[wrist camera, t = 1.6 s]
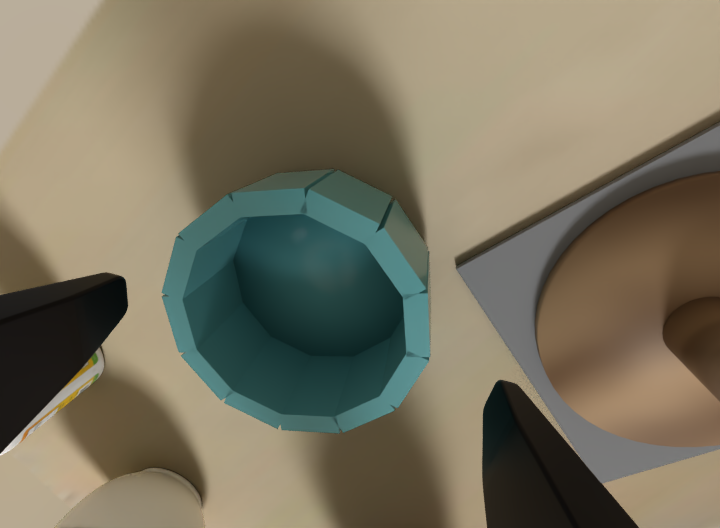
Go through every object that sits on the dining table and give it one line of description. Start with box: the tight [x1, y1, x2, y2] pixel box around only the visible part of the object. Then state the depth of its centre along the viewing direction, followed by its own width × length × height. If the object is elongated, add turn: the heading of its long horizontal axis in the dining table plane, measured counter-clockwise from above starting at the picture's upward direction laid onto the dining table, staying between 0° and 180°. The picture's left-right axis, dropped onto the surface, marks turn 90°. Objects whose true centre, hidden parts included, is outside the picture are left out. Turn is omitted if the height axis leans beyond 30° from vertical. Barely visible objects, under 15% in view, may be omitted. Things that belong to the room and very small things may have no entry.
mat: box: [456, 122, 720, 483], centre depth 20 cm, size 17×17×1 cm
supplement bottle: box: [0, 347, 104, 455], centre depth 24 cm, size 5×5×10 cm
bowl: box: [162, 169, 431, 433], centre depth 20 cm, size 12×12×6 cm
